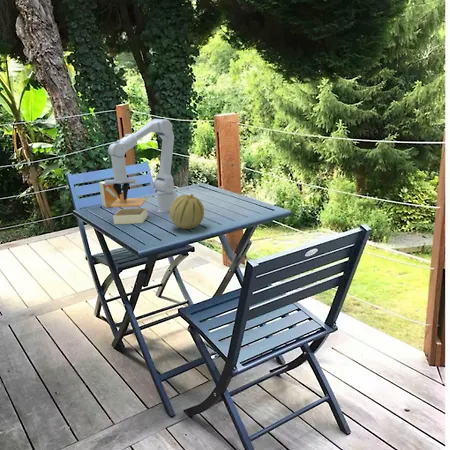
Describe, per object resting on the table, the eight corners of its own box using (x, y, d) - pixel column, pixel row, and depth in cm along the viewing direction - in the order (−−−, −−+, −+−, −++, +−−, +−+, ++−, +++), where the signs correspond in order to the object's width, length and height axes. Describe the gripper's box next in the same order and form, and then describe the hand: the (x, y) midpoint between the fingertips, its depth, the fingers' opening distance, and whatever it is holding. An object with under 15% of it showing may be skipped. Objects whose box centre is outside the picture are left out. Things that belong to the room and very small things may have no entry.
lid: (146, 200, 218) (145, 189, 216) (140, 207, 207) (139, 196, 205) (118, 201, 219) (117, 190, 217) (111, 208, 208) (109, 196, 206)
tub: (147, 217, 219) (146, 207, 218) (142, 224, 209) (141, 214, 208) (121, 218, 220) (119, 209, 219) (114, 225, 210) (113, 215, 209)
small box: (106, 208, 240) (102, 183, 236) (102, 206, 245) (98, 181, 241) (121, 205, 244) (117, 181, 240) (116, 203, 249) (113, 179, 245)
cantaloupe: (169, 225, 205) (165, 192, 200) (201, 221, 208) (199, 188, 203) (173, 235, 191) (169, 200, 186) (208, 231, 194) (205, 196, 189)
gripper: (100, 172, 205) (105, 202, 209) (133, 171, 204) (136, 201, 208) (105, 169, 212) (109, 198, 216) (136, 168, 210) (140, 197, 215)
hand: (123, 199), depth 212 cm, fingers closed on lid
